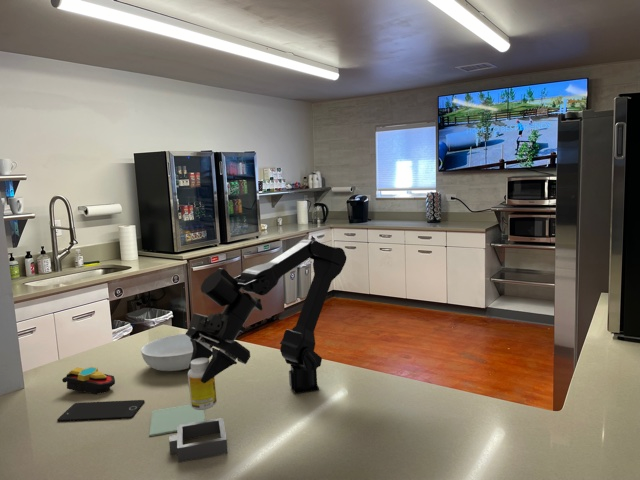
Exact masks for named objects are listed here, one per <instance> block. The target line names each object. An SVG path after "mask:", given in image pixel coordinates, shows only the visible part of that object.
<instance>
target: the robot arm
mask: <svg viewBox="0 0 640 480" xmlns="http://www.w3.org/2000/svg"><path fill="white" fill-rule="evenodd" d="M346 255H347V254H346V252H345V250H344V249H343V248H342V247H338V246H329V245H328V244H324V243H322V242H320V241H319V240H318V241H317V240H316V239H307V238H306V239H302V240H300V241H299V242H298V243H297V244H295V245H294V246H292V247H290V248H289V249H287V250H286V251H285V252H283V253H281V254H280V255H278V256H276V257H275V258H273V259H271V260H270V261H268V262H265V263H261V264H256V265H253V266H251V267H249V268H246V269H244V270H243V271H242V272H241V273H240V275H238V276H235V277H233V276H232V275H230V274H229V272H228V271H227V270H226V269H225V268H221V267H218V268H217V270H216V271H215V272H213V273H211V274H210V275H208V276H207V277H206V278H204V280H203V281H202V283H201V285H200V291H201V293H203V294H204V295H205V296H207V298H209V299H210V300H212V301H213V302H214V303H216V304H217V305H218V306H219V307H224V309H222V310H223V311H222V312H216V313H215V314H214V313H210V314H209V315H205V314H200V313H196V312H193V313H192V316H191V319H190V322H189V326H188V329H187V331H186V332H185V334H186V335H187V336H188V337H190V341H191V342H192V345H193V353H192V357H191V361H192V360H194V359H197V358H208V359H209V365H208V367H207V368H206V370H205V372H204V374H203V376H202V379H201V382H203V383H206V382H207V381H209V380H210V379H212V378H213V377H214V378H215V377H216V376H217V375H219V374H220V373H222V372H224V371H225V370H227V369H229V368H230V367H231V366H233V365H237V364H238V362H240V363H242V364H244V365H247V363H248V361H249V360H250V358H251V352H250V350H249V349H248V348H247V347H245V346H244V345H243V344H241V343H239V341H237V340H236V338H237V337H238V336H239V334H240V332H241V333H244V332H245V331H246V328H245V327H244V326H245V323H246V321H247V320H248V318H250V315H251V314H252V312H253V311H254V310H257V311H260V312H261V311H262V310H263V304H262V300H261V299H262V298H258V297H253V296H252V294H254V295H259V296H265V295H268V294H269V293H270V292H271V291H272V290H273V289H274V288H275V287H276V286H277V285H278V283H279V280H280V278H282V277H283V276H284V275H286V274H287V273H289V272H290V271H292V270H293V269H295V268H296V267H298V266H299V265H301V264H303V263H305V261H307V260H308V259H310V260H313V262H312V268H313V274H314V275H313V277H312V280H311V283H310V286H309V289H308V292H307V293H306V297H305V300H304V302H303V305H302V308H301V311H300V313H299V317H298V318H297V321H296V324H295V325H294V326H293V327H292V328H291V329H285V330H284V333H283V337H282V339H281V341H280V342H279V344H280V349H279V352H280V353H281V356H282V358H283V359H284V361H285V362H286V365H290V370H289V371H288V380H289V381H288V383H289V387H290V388H291V390H293V392H294V394H295V395H296V394H302V393H310V392H314V391H315V392H316V391H319V390H320V386H319V385H318V377H317V376H318V375H317V373H318V370H317V369H318V368H320V367H321V366H322V360H323V358H322V357H321V356H320V355H319V354H318V353H317V352H315V347H316V337H315V329H316V326H317V324H318V320H319V318H320V316H321V313H322V309H323V306H324V305H325V301H326V299H327V295H328V292H329V289H330V288H331V284H332V281H333V280H335V278H337V277H338V276H339V274H341V272H342V270H343V268H344V266H345V265H346V263H347V262H346V261H347V256H346ZM240 290H242V291H243V292H242V291H240ZM210 348H212V349H211V350H209V349H210ZM210 358H211V359H210ZM191 361H190V362H191ZM190 369H191V363H190V364H189V368H187V372H186V374H187V375H188V371H189V370H190Z"/></svg>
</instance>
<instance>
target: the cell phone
mask: <svg viewBox="0 0 640 480" xmlns="http://www.w3.org/2000/svg"><path fill="white" fill-rule="evenodd" d="M145 401H146V400H144V399H134V400H133V399H132V400H112V401H111V400H109V401H90V402H89V401H86V402H75V403H72V405H71V406H70V407H69V408H68V409H66V411H64V412H63V413H62V414H61V415H60V416H59V417H58V418H57V420H56V421H57V423H66V422H67V423H68V422H85V421H86V422H90V421H109V420H110V421H111V420H112V421H113V420H114V421H115V420H131V419H134V417H135V416H136V415H137V413H138V412H139V411H140V410H141V408H142V407H143V405H145Z"/></svg>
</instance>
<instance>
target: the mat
mask: <svg viewBox="0 0 640 480" xmlns="http://www.w3.org/2000/svg"><path fill="white" fill-rule="evenodd" d="M200 421H206V417H205V410H196V409H193V408H192V406H191V403H190V404H184V405H178V406H172V407H167V408H161V409H154V410H152V411H151V418H150V427H149V434H148V436H149V437H153V436H161V435H165V434H171V433H176V432H177V429H178V425H183V424H189V423H194V422H200Z"/></svg>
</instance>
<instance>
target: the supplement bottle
mask: <svg viewBox="0 0 640 480" xmlns="http://www.w3.org/2000/svg"><path fill="white" fill-rule="evenodd" d="M190 363H191V369H190V370H189V371H188V370H187V372H188V374H187V380H188V390H189V401H190V404H191V406H192V408H193V409H196V410H204V411H205V410H208V409H211V408H213V407H214V406H215V405H216V404H217V400H218V399H217V390H216V381H215V380H216V379H215V377H213V378H212V379H210V380H209V381H207V382H206V383H203V382H201V379H202V376H203V374H204V372H205V370H206V368H207V367H208V365H209V363H210V358H209V359H208V358H197V359H194V360H192V361H191V362H190Z"/></svg>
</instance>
